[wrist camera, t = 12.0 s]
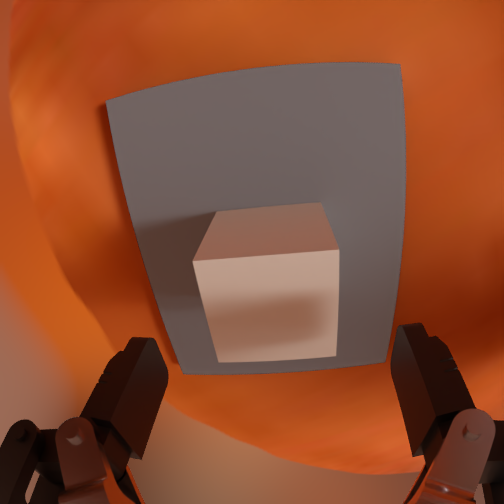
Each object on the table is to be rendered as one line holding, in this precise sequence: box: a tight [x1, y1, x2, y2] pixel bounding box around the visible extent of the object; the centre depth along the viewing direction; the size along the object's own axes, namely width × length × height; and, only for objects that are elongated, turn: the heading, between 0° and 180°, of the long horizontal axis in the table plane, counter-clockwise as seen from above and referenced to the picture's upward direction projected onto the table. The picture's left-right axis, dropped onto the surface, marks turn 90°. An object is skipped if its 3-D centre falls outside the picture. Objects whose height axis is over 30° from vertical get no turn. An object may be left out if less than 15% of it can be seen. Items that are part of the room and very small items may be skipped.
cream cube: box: [192, 202, 339, 362], centre depth 14 cm, size 5×5×5 cm
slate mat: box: [106, 62, 406, 375], centre depth 17 cm, size 14×18×1 cm
